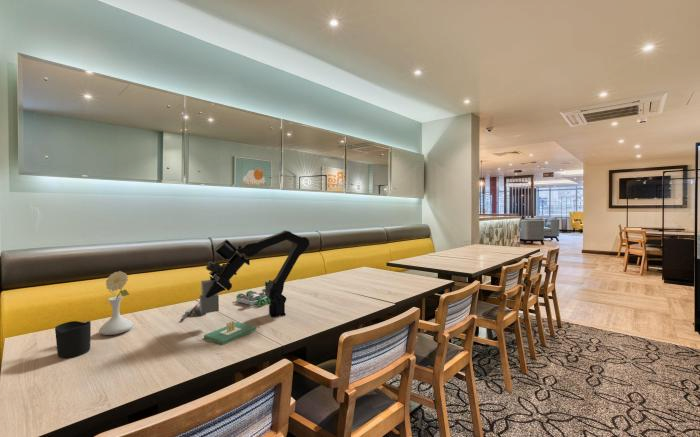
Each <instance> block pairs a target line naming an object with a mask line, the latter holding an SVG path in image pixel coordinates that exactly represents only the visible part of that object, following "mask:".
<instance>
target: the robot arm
mask: <svg viewBox="0 0 700 437" xmlns="http://www.w3.org/2000/svg"><path fill="white" fill-rule="evenodd" d="M285 241H288V242H290V243H291V246H290V251H289V253H288V256H287V257H286V259H285V261H284V263H283V265H281V267H280V269H279V271H278V272H277V274H276V277H274V279H269V280H268V281H269V282H268V284H267V286H265V285H264V289H265V288H266V289H265V292H264V295H265V294H266V297H269V299H270V300H271V301H270V303H268V314H269V315H270V317H271V318H276V317H283V316H286V312H285V311H286V310H285V308H286V307H285V306H286V305H285V304H286V301H287V297H286V296H284V294H283V291H284V287H285V286H284V285H285V283H286V280H287V279H288V277H289V275H290V274H291V272H292V270H293V267H294V266H295V264H296V263H297V261H298V259H299V257H300V256H301V255H302V254H304V253H305V252H306V250H307V249H308V248H309V246H310V244H311V243H310V240H309V238H307V237H305V236H302V235H297V234H296V233H295V234H294V233H293V232H291V230H290V231H289V230H283V231H280V232H278V233H276V234H273V235H269V236H268V237H265V238H261V239H259V240H250V241H246V242H244V243H242V244H240V245H237V246H234V244H232V243H231V242H230V241H229V240H228V239H225V240H223V241H222V242H220V243H219V244H218V245H217V246H216V247H215V248H214V250H213V252H215V253H216V254H217V255H218V256H219V257H221V259H223V260H228V261H227V262H226V263H222V264H220V263H218V262H212V261H208V262H207V265H206V266H205V269H206V271H208V272H209V280H212V281H213V286H212V288H211V289H210V290H209V292H208V293H207V295H206V297H207V298H209V297H211V296H213V295H215V294H219V293H221V292H224V291H230V290H231V289H232V287H233V284H232V283H231V279H232V278H233V277H234V276H237V274H238V273H237V272H238V271H239V270H240V269H241V268H242V267H243V265H244V264H245V265H247V266H250V265H251V264H250V257H253V256H255V255H257V254H259V253H260V252H261V251H262V250H264V249H267V248H268V247H271V246H274V245H278V244H279V243H281V242H285ZM245 256H246V257H249V258H246V257H245Z"/></svg>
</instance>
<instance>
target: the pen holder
mask: <svg viewBox="0 0 700 437" xmlns="http://www.w3.org/2000/svg"><path fill="white" fill-rule="evenodd" d="M91 324H92V321H91V320H89V321H84V322H83V321H76V320H74V321H73V320H70V321H67V322H63V323H60V324H58V325H56V326H55V327H54V331H55V332H54V333H55V341H56V342H55V343H56V350H57V357H59V359H60V358H61V359H71V358H75V357H79V356H83V355H85V354H87V353H88V352H89V351H90V350H91V340H92V339H91V332H92V331H91V330H92V329H91V328H92V327H91Z"/></svg>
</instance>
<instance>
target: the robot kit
mask: <svg viewBox="0 0 700 437" xmlns="http://www.w3.org/2000/svg"><path fill="white" fill-rule="evenodd" d="M268 282H269V280H266V281H265V282H264V288H262V289H261V292H259V293H258V292H257V291H253V290H247V292H246V293H245V294H243V293H238V294H237V295H236V297H235V298H236V303H237V302H238V303H242V304H246V305H251V306H254V305H257V307H258V306H259V307H264V306H265V305H266V303H268V304H270V301H271V300H270V299H269V297H267V296H266V294H265V289H266V288H265V286H267V284H268Z"/></svg>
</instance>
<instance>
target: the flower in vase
mask: <svg viewBox="0 0 700 437" xmlns="http://www.w3.org/2000/svg"><path fill="white" fill-rule="evenodd" d="M105 281H106V282H105V285H106V289H108V292H109V293H111V294H114V295H116V296H112V297H109V298H107V301H109V303H110V304H111V305H110V306H111V308H112V316H111V317H110V318H109V320H107V321H106V322H105V323H103V324H102V326H101V327H99V330H98V332H99V333H100V334H101V335H106V336H111V335H112V336H113V335H119V334H122V333H125V332H127V331H129V330H131V329H133V328H134V323H133V322H132V321H131V320H129V319H127V318H125V317H123V316H122V315H121V313H120V305H121V301H122V300H123V298H124V297H125V296H129V295H130V293H129V292H128V290H127V289H123V290H122V288H124V287H125V285H126V284H127V282H128V281H129V279H128V274H127V273H125V272H123V271H121V270H118V271H115V272H113V273H111V274H110V275H109V276H108V277H107V279H105ZM118 290H120V291H119V292H118V293H117V292H116V291H118ZM120 294H121V295H120Z"/></svg>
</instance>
